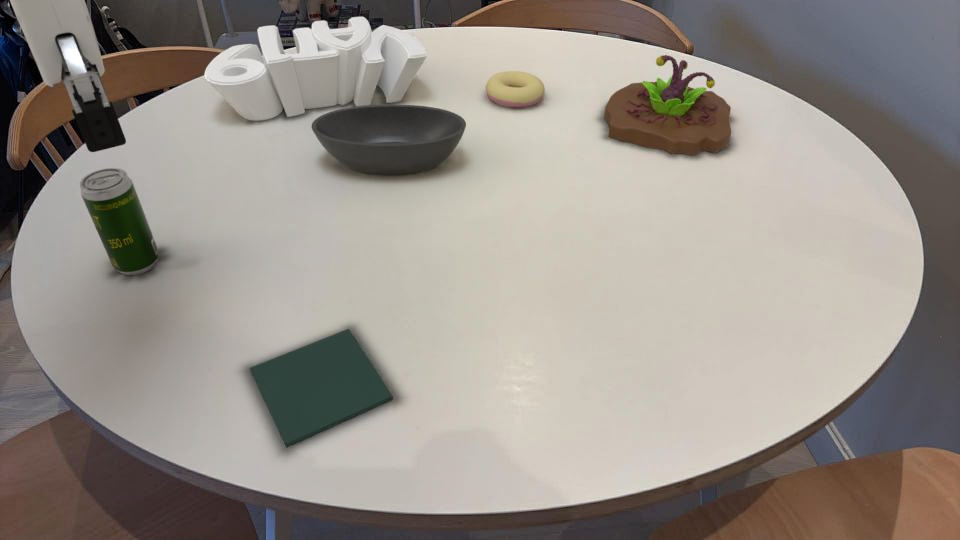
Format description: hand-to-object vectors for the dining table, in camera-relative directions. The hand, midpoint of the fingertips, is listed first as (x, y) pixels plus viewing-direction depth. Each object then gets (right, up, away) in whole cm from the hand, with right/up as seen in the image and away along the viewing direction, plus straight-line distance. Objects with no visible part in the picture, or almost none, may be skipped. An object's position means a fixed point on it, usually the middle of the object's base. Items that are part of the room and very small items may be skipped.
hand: (99, 124), depth 66 cm
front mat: (+20, -26, +5) cm, 33 cm away
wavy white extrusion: (+9, +16, +53) cm, 56 cm away
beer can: (-6, -13, +19) cm, 24 cm away
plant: (+66, +10, +47) cm, 82 cm away
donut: (+42, +15, +53) cm, 70 cm away
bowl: (+23, +2, +37) cm, 44 cm away
